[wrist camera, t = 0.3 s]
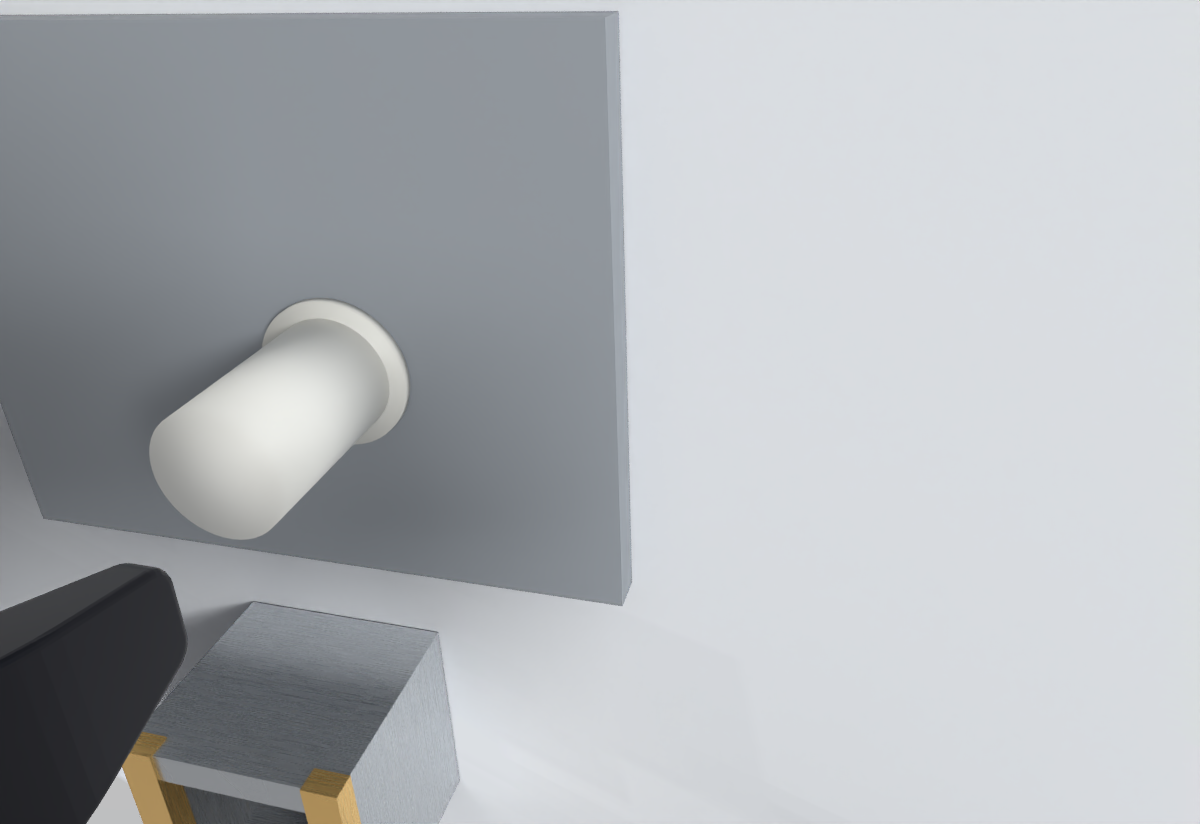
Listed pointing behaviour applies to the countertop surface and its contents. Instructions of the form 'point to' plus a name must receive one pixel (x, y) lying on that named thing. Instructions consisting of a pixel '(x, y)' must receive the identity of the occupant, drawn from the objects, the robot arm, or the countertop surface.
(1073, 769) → the countertop surface
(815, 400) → the countertop surface
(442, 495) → the panel
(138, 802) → the open cube shelf
